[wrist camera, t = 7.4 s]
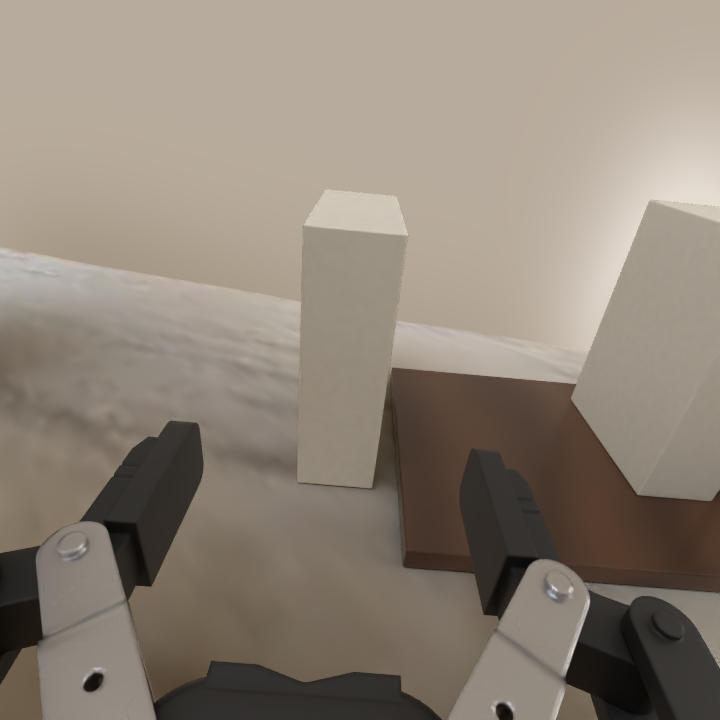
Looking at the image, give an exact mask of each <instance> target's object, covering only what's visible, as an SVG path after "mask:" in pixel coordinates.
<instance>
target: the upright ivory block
mask: <svg viewBox="0 0 720 720" xmlns="http://www.w3.org/2000/svg"><path fill="white" fill-rule="evenodd" d="M407 241H408V234H407V231H406V227H405V224H404V220H403V217H402V213H401V210H400V206H399V203H398V200H397V197H396V196H387V195H377V194H366V193H356V192H346V191H337V190H325V192H324V193H323V195H322V196H321V198H320V199H319V201H318V203H317V204H316V206H315V207H314V209H313V211H312V212H311V214H310V215H309V217H308V219H307V220H306V222H305V223H304V225H303V246H302V287H301V329H300V371H299V414H298V456H297V482H298V483H310V484H322V485H334V486H346V487H358V488H370V489H371V488H372V487H373V480H374V473H375V466H376V459H377V452H378V445H379V438H380V431H381V424H382V417H383V410H384V403H385V396H386V389H387V382H388V375H389V368H390V361H391V354H392V347H393V340H394V333H395V326H396V319H397V311H398V304H399V297H400V290H401V283H402V276H403V269H404V262H405V255H406V248H407Z"/></svg>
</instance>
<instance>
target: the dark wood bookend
mask: <svg viewBox="0 0 720 720" xmlns="http://www.w3.org/2000/svg"><path fill="white" fill-rule="evenodd" d="M390 382H391V397H392V412H393V427H394V442H395V457H396V472H397V486H398V501H399V516H400V531H401V546H402V561H403V566H404V567H414V568H426V569H439V570H451V571H464V572H474V569H473V564H472V559H471V555H470V550H469V546H468V541H467V537H466V532H465V528H464V523H463V518H462V514H461V509H460V503H459V491H460V485H461V481H462V478H463V474H464V470H465V467H466V463H467V460H468V456H469V453H470V450H471V449H472V448H478V449H489V450H498V451H499V452H500V454H501V457H502V459H503V462H504V465H505V467H506V469H514V470H517V471H518V473H519V474H520V475H521V476H522V477H523V478H524V479H525V480H526V481H527V482H528V484H529V486H530V488H531V491H532V493H533V495H534V498H535V502H536V503H537V505H538V507H539V510H540V514H541V515H542V517H543V519H544V522H545V524H546V527H547V529H548V531H549V534H550V536H551V538H552V541H553V543H554V546H555V548H556V550H557V553H558V555H559V558H560V560H561V562H562V564H564V565H565V566H567V567H569V568H570V569H571V570H573V571H574V572H575V573H576V574H577V575H578V576H579V577H580V578H581V579H582V581H589V582H601V583H614V584H627V585H639V586H652V587H664V588H677V589H689V590H702V591H714V592H720V491H718V493H717V494H716V496H715V497H714V498H713V500H712V501H700V500H689V499H677V498H665V497H653V496H641V495H637V494H636V492H635V491H634V489H633V488H632V486H631V485H630V484H629V482H628V481H627V479H626V478H625V476H624V475H623V474H622V472H621V471H620V469H619V468H618V466H617V465H616V463H615V462H614V461H613V459H612V458H611V456H610V455H609V453H608V452H607V451H606V449H605V448H604V446H603V445H602V443H601V442H600V440H599V439H598V438H597V436H596V435H595V433H594V432H593V430H592V429H591V428H590V426H589V425H588V423H587V422H586V420H585V419H584V418H583V416H582V415H581V413H580V412H579V410H578V409H577V407H576V406H575V405H574V403H573V402H572V400H571V397H572V394H573V391H574V389H575V386H576V384H568V383H557V382H546V381H535V380H524V379H513V378H501V377H490V376H479V375H468V374H457V373H446V372H435V371H423V370H412V369H401V368H392V371H391V378H390Z"/></svg>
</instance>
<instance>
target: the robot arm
mask: <svg viewBox="0 0 720 720" xmlns="http://www.w3.org/2000/svg"><path fill="white" fill-rule="evenodd" d="M202 474H203V454H202V445H201V437H200V429H199V425H198V424H197V423H192V422H180V421H169V422H168V423H167V425H166V426H165V428H164V429H163V431H162V432H161V434H160V435H159V437H158V438H157V437H148V438H146V439H145V440H143V441H142V442H141V443H139V444H138V445H136V446H135V447H134V448H132V450H131V451H130V453H129V454H128V455H127V457H126V458H125V460H124V461H123V463H122V465H120V466H119V468H118V469H117V471H116V472H115V473H114V477H112V478H111V479H110V480H109V482H108V483H107V484H106V486H105V487H104V489H103V490H102V491H101V493H100V494H99V496H98V497H97V498H96V500H95V501H94V503H93V504H92V505H91V507H90V508H89V509H88V511H87V512H86V514H85V515H84V516H83V518H82V519H81V520H80V522H78V523H74V524H71V525H68V526H66V527H63V528H62V529H60V530H58V531H56V532H55V533H53V534H52V535H51V536H50V537H48V538H47V539H46V540H45V541H44V543H43V544H42V545H41V546H37V547H32V548H27V549H21V550H16V551H10V552H5V553H0V684H1V683H2V681H3V679H4V678H5V676H6V674H7V673H8V671H9V669H10V668H11V666H12V664H13V663H14V661H15V659H16V658H17V656H18V654H19V653H20V651H21V649H22V648H26V647H30V646H34V645H37V658H38V670H39V682H40V694H41V706H42V718H43V720H442V719H441V718H440V717H439V716H438V715H437V714H436V713H435V712H434V711H433V710H431V709H430V708H429V707H428V706H426V705H425V704H424V703H422V702H421V701H420V700H418V699H416V698H414V697H413V696H411V695H409V694H407V693H404V692H402V691H401V676H399V675H386V674H373V673H360V672H352V673H348V674H343V675H339V676H334V677H330V678H325V679H321V680H316V681H312V682H301V681H298V680H295V679H293V678H290V677H288V676H285V675H283V674H280V673H278V672H275V671H273V670H270V669H268V668H265V667H263V666H260V665H256V664H243V663H230V662H217V661H211V663H210V667H209V670H208V673H207V677H204V678H199V679H196V680H194V681H191V682H188V683H186V684H184V685H182V686H180V687H177V688H175V689H174V690H172V691H170V692H169V693H167V694H166V695H164V696H163V697H161V698H160V699H159V700H157V701H156V702H155V698H154V694H153V691H152V687H151V684H150V680H149V676H148V673H147V669H146V665H145V662H144V658H143V654H142V650H141V646H140V643H139V639H138V635H137V631H136V628H135V624H134V620H133V616H132V612H131V609H130V605H129V601H128V600H129V598H130V596H131V594H132V592H133V590H134V588H135V586H136V585H137V586H149V587H151V586H152V584H153V582H154V580H155V578H156V576H157V573H158V571H159V569H160V567H161V565H162V563H163V561H164V559H165V556H166V554H167V552H168V550H169V548H170V546H171V544H172V542H173V539H174V537H175V535H176V533H177V531H178V529H179V527H180V525H181V522H182V520H183V518H184V516H185V514H186V512H187V510H188V508H189V505H190V503H191V501H192V499H193V497H194V495H195V493H196V491H197V488H198V486H199V484H200V481H201V478H202ZM459 503H460V509H461V514H462V518H463V523H464V528H465V532H466V537H467V541H468V546H469V550H470V555H471V559H472V564H473V569H474V573H475V578H476V582H477V587H478V591H479V596H480V600H481V605H482V610H483V614H484V615H492V616H498V619H499V624H498V626H497V627H496V629H494V631H493V633H492V634H491V636H490V638H489V640H488V642H487V644H486V646H485V648H484V650H483V651H482V653H481V655H480V657H479V659H478V661H477V663H476V665H475V667H474V669H473V670H472V672H471V674H470V676H469V678H468V680H467V682H466V684H465V686H464V688H463V689H462V691H461V693H460V695H459V697H458V699H457V701H456V703H455V705H454V707H453V708H452V710H451V712H450V714H449V716H448V718H447V720H556V717H557V714H558V711H559V708H560V705H561V702H562V699H563V696H564V693H565V689H566V684H569V685H571V686H574V687H576V688H578V689H581V690H583V691H585V692H587V693H590V695H591V698H592V701H593V704H594V707H595V710H596V713H597V717H598V720H720V668H719V666H718V665H717V663H716V661H715V659H714V658H713V656H712V654H711V652H710V651H709V649H708V647H707V645H706V644H705V642H704V640H703V638H702V637H701V635H700V633H699V632H698V630H697V628H696V627H695V626H694V624H693V623H692V622H691V621H690V620H689V619H688V618H687V617H686V615H684V614H683V613H682V612H681V611H680V610H678V609H677V608H676V607H674V606H673V605H671V604H669V603H668V602H665V601H663V600H661V599H658V598H655V597H651V596H641V597H638V598H636V599H635V600H633V602H632V603H631V605H630V606H627V605H625V604H622V603H619V602H617V601H614V600H611V599H609V598H606V597H603V596H601V595H598V594H596V593H594V592H592V591H590V590H588V589H587V587H586V585H585V584H584V582H583V581H582V579H581V578H580V577H579V576H578V575H577V574H576V573H575V572H574V571H573V570H571V569H570V568H569V567H567V566H565V565H564V564H562V562H561V560H560V558H559V555H558V553H557V550H556V548H555V546H554V543H553V541H552V538H551V536H550V534H549V531H548V529H547V527H546V524H545V522H544V519H543V517H542V515H541V514H540V510H539V507H538V505H537V503H536V502H535V498H534V495H533V493H532V491H531V488H530V486H529V484H528V482H527V481H526V480H525V479H524V478H523V477H522V476H521V475H520V474H519V473H518V471H517V470H514V469H506V467H505V465H504V462H503V459H502V457H501V454H500V452H499V451H498V450H489V449H478V448H472V449H471V450H470V453H469V456H468V460H467V463H466V467H465V470H464V474H463V478H462V481H461V485H460V491H459Z"/></svg>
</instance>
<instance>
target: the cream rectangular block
mask: <svg viewBox="0 0 720 720" xmlns="http://www.w3.org/2000/svg"><path fill="white" fill-rule="evenodd" d="M571 400H572V402H573V403H574V405H575V406H576V407H577V409H578V410H579V412H580V413H581V415H582V416H583V418H584V419H585V420H586V422H587V423H588V425H589V426H590V428H591V429H592V430H593V432H594V433H595V435H596V436H597V438H598V439H599V440H600V442H601V443H602V445H603V446H604V448H605V449H606V451H607V452H608V453H609V455H610V456H611V458H612V459H613V461H614V462H615V463H616V465H617V466H618V468H619V469H620V471H621V472H622V474H623V475H624V476H625V478H626V479H627V481H628V482H629V484H630V485H631V486H632V488H633V489H634V491H635V492H636V494H637V495H641V496H653V497H665V498H677V499H689V500H700V501H712V500H713V498H714V497H715V496H716V494H717V493H718V491H719V490H720V207H718V206H707V205H698V204H688V203H678V202H668V201H658V200H650V201H649V203H648V205H647V208H646V210H645V213H644V215H643V218H642V220H641V223H640V226H639V228H638V230H637V233H636V236H635V238H634V241H633V243H632V246H631V248H630V251H629V253H628V256H627V258H626V261H625V263H624V266H623V268H622V271H621V273H620V276H619V278H618V281H617V284H616V286H615V288H614V291H613V293H612V296H611V298H610V301H609V304H608V306H607V308H606V311H605V314H604V316H603V319H602V321H601V324H600V326H599V329H598V331H597V334H596V336H595V339H594V341H593V344H592V346H591V349H590V351H589V354H588V356H587V359H586V361H585V364H584V366H583V369H582V371H581V374H580V376H579V379H578V381H577V384H576V386H575V389H574V391H573V394H572V397H571Z"/></svg>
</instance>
